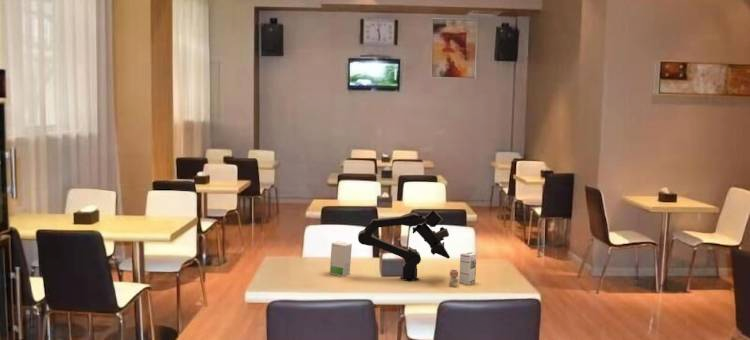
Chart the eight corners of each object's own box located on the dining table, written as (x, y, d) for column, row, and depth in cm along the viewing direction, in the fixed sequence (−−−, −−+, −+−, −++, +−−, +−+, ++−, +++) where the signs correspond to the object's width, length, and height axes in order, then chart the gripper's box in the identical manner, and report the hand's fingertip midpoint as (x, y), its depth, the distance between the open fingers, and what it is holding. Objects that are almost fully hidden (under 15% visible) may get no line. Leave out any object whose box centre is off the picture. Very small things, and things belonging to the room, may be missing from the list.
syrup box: (469, 285, 329) (471, 255, 328) (458, 282, 333) (460, 253, 331) (475, 282, 334) (477, 253, 332) (464, 280, 337) (466, 251, 336)
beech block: (449, 286, 325) (449, 278, 325) (449, 284, 329) (449, 275, 329) (457, 287, 325) (458, 278, 324) (457, 285, 329) (458, 276, 328)
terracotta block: (449, 279, 338) (450, 271, 338) (449, 277, 342) (450, 269, 341) (457, 280, 338) (458, 271, 337) (457, 278, 341) (458, 269, 341)
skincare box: (329, 274, 339) (330, 243, 337) (336, 271, 345) (337, 240, 343) (344, 277, 335) (345, 245, 333) (351, 274, 341) (352, 242, 339)
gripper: (439, 226, 323) (461, 251, 323) (440, 219, 341) (461, 242, 341) (421, 242, 324) (444, 266, 324) (423, 234, 343) (444, 257, 343)
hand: (449, 257), depth 333 cm, fingers closed
